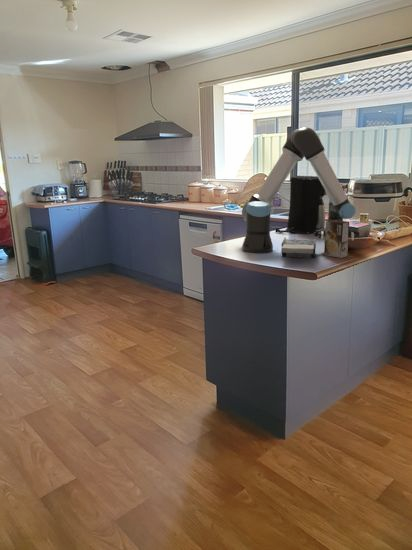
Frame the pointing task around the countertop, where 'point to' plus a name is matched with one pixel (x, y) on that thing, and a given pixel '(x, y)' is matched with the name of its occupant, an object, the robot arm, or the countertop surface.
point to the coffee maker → (305, 205)
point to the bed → (300, 242)
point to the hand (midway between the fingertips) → (337, 236)
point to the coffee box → (336, 238)
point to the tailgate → (297, 248)
